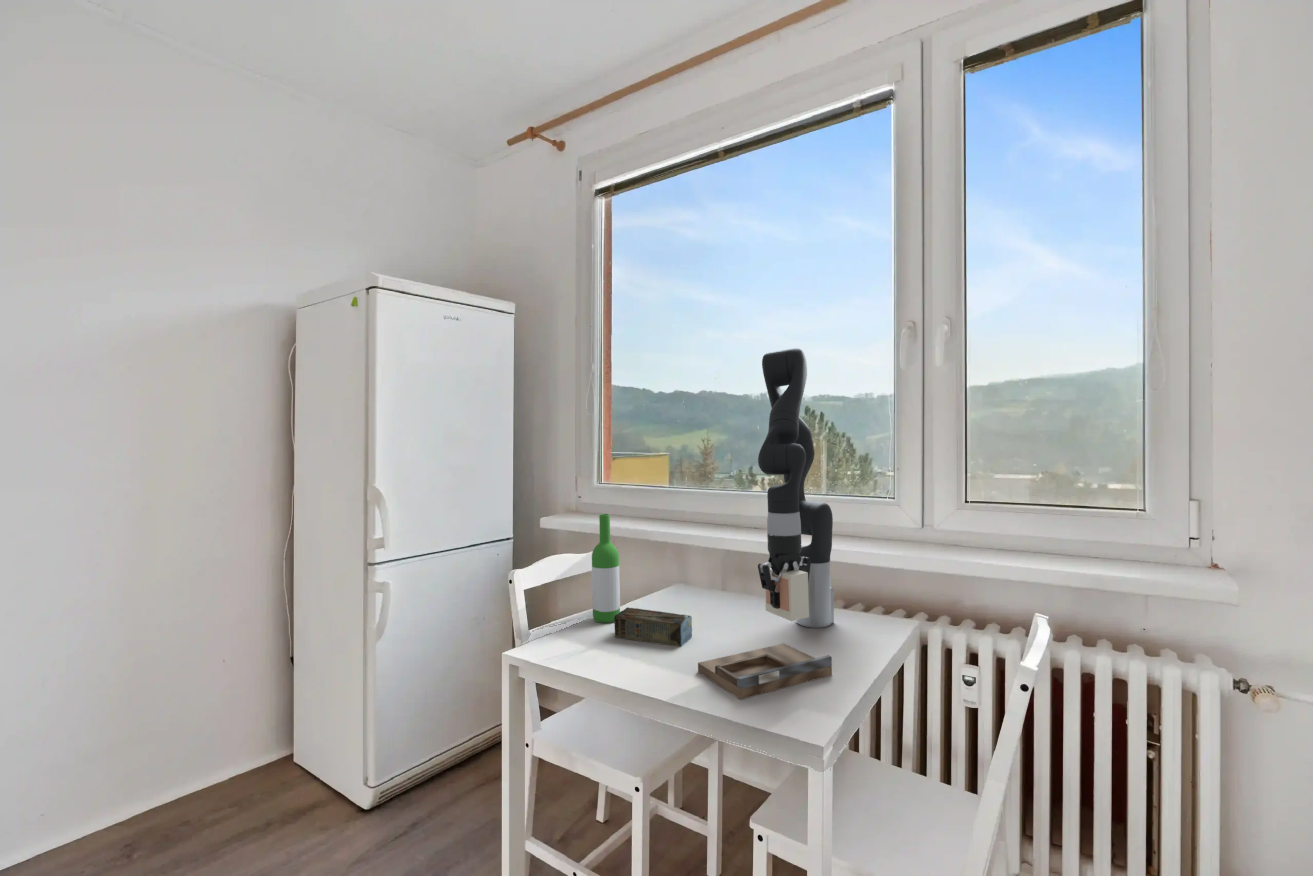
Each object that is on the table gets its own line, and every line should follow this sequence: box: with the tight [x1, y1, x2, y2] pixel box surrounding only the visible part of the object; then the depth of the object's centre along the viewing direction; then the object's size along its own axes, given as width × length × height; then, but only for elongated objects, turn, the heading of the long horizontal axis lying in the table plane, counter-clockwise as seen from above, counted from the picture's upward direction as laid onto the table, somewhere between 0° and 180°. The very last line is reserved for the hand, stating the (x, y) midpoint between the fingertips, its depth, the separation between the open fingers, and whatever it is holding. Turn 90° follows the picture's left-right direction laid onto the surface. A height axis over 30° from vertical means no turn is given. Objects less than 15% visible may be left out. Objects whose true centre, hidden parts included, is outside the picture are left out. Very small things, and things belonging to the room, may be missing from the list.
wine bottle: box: [591, 513, 621, 624], centre depth 172 cm, size 8×8×30 cm
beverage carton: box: [613, 607, 693, 647], centre depth 157 cm, size 8×19×7 cm, turn 66°
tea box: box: [764, 568, 809, 622], centre depth 138 cm, size 5×9×10 cm, turn 28°
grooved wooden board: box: [697, 643, 833, 700], centre depth 132 cm, size 24×16×4 cm
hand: (786, 605), depth 138 cm, fingers closed on tea box, 5 cm apart
